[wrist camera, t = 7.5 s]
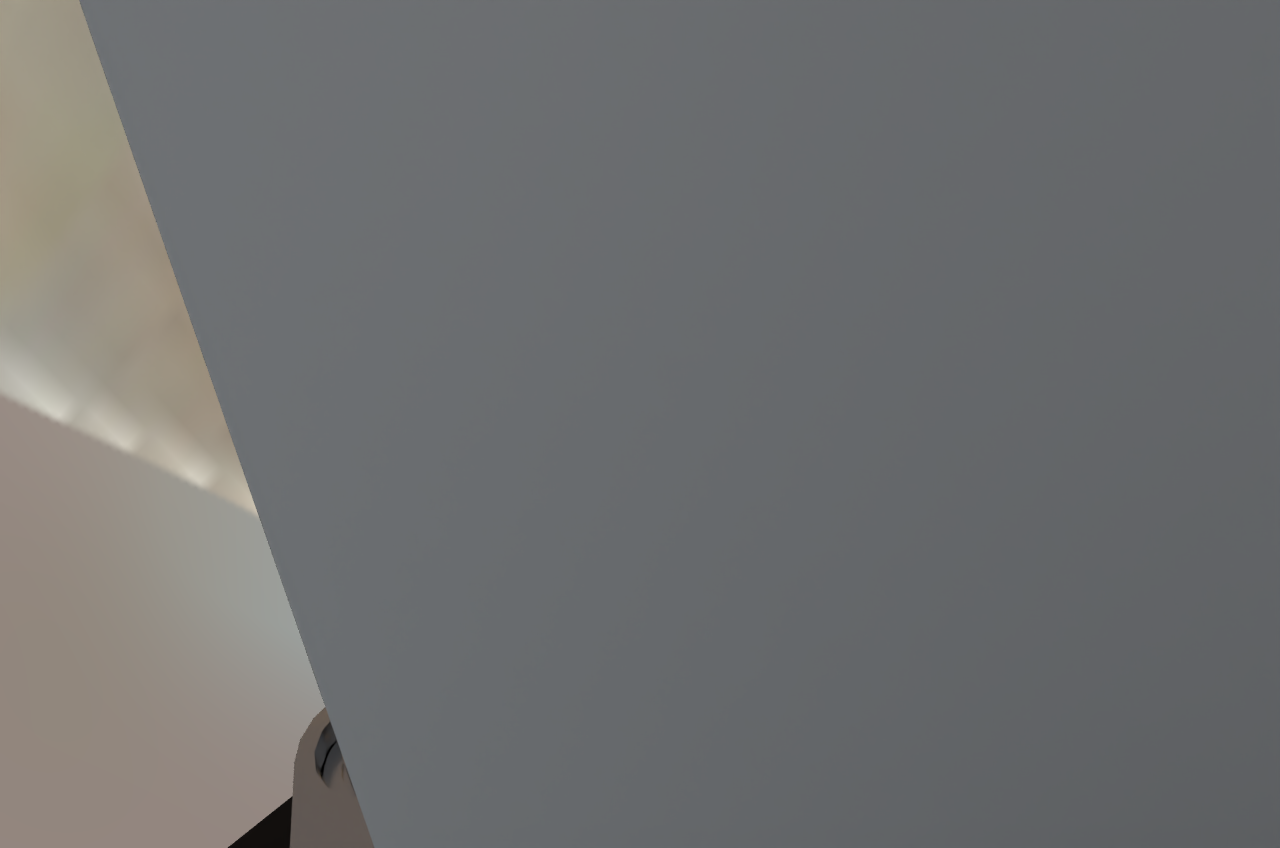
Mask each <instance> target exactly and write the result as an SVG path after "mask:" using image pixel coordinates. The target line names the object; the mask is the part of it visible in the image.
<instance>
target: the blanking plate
mask: <svg viewBox="0 0 1280 848" xmlns="http://www.w3.org/2000/svg"><path fill="white" fill-rule="evenodd" d="M79 1H80V4H81V7H82V10H83V13H84V15H85V18H86V21H87V24H88V27H89V30H90V33H91V36H92V38H93V41H94V44H95V47H96V50H97V53H98V56H99V58H100V61H101V64H102V67H103V70H104V73H105V76H106V79H107V81H108V84H109V87H110V90H111V93H112V96H113V99H114V102H115V104H116V107H117V110H118V113H119V116H120V119H121V122H122V124H123V127H124V130H125V133H126V136H127V139H128V142H129V145H130V147H131V150H132V153H133V156H134V159H135V162H136V165H137V168H138V170H139V173H140V176H141V179H142V182H143V185H144V188H145V191H146V193H147V196H148V199H149V202H150V205H151V208H152V211H153V213H154V216H155V219H156V222H157V225H158V228H159V231H160V234H161V236H162V239H163V242H164V245H165V248H166V251H167V254H168V257H169V259H170V262H171V265H172V268H173V271H174V274H175V277H176V279H177V282H178V285H179V288H180V291H181V294H182V297H183V300H184V302H185V305H186V308H187V311H188V314H189V317H190V320H191V323H192V325H193V328H194V331H195V334H196V337H197V340H198V343H199V346H200V348H201V351H202V354H203V357H204V360H205V363H206V366H207V368H208V371H209V374H210V377H211V380H212V383H213V386H214V389H215V391H216V394H217V397H218V400H219V403H220V406H221V409H222V412H223V414H224V417H225V420H226V423H227V426H228V429H229V432H230V434H231V437H232V440H233V443H234V446H235V449H236V452H237V455H238V457H239V460H240V463H241V466H242V469H243V472H244V475H245V478H246V480H247V483H248V486H249V489H250V492H251V495H252V498H253V501H254V503H255V506H256V509H257V512H258V515H259V518H260V521H261V523H262V526H263V529H264V532H265V535H266V538H267V541H268V544H269V546H270V549H271V552H272V555H273V558H274V561H275V564H276V567H277V569H278V572H279V575H280V578H281V581H282V584H283V586H284V589H285V592H286V595H287V598H288V601H289V604H290V607H291V609H292V612H293V615H294V618H295V621H296V624H297V626H298V630H299V633H300V635H301V638H302V641H303V644H304V647H305V650H306V653H307V656H308V658H309V661H310V664H311V667H312V670H313V673H314V676H315V678H316V681H317V684H318V687H319V690H320V693H321V696H322V699H323V701H324V704H325V707H326V710H327V713H328V716H329V719H330V722H331V724H332V727H333V730H334V733H335V736H336V739H337V742H338V744H339V747H340V750H341V753H342V756H343V759H344V762H345V765H346V767H347V770H348V773H349V776H350V779H351V782H352V785H353V788H354V790H355V793H356V796H357V799H358V802H359V805H360V808H361V811H362V813H363V816H364V819H365V822H366V825H367V828H368V831H369V833H370V836H371V839H372V842H373V845H374V848H1280V0H79Z"/></svg>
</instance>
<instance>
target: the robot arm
mask: <svg viewBox="0 0 1280 848" xmlns="http://www.w3.org/2000/svg"><path fill="white" fill-rule="evenodd" d="M228 848H374V845H373V842H372V839H371V836H370V833H369V831H368V828H367V825H366V822H365V819H364V816H363V813H362V811H361V808H360V805H359V802H358V799H357V796H356V793H355V790H354V788H353V785H352V782H351V779H350V776H349V773H348V770H347V767H346V765H345V762H344V759H343V756H342V753H341V750H340V747H339V744H338V742H337V739H336V736H335V733H334V730H333V727H332V724H331V722H330V719H329V716H328V713H327V710H326V707H325V708H324V709H323V710H322V711H321V712H320V713H319V714H318V715H317V716H316V717H315V718H313V720H312V722H311V724H310V725H309V726H308V728H307V730H306V731H305V733H304V734H303V736H302V738H301V739H300V742H299V747H298V750H297V754H296V759H295V762H294V781H293V796H292V797H291V798H290V799H288V800H287V801H286V802H285V803H283V804H282V805H281V806H280V807H278V808H277V809H276V810H275V811H273V812H272V813H271V814H269V815H268V816H267V817H266V818H264V819H263V820H262V821H261V822H259V823H258V824H257V825H256V826H254V827H253V828H252V829H251V830H249V831H248V832H247V833H246V834H245V835H243V836H242V837H241V838H239V839H238V840H237V841H235V842H234V843H233V844H232V845H230V846H229V847H228Z"/></svg>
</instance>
